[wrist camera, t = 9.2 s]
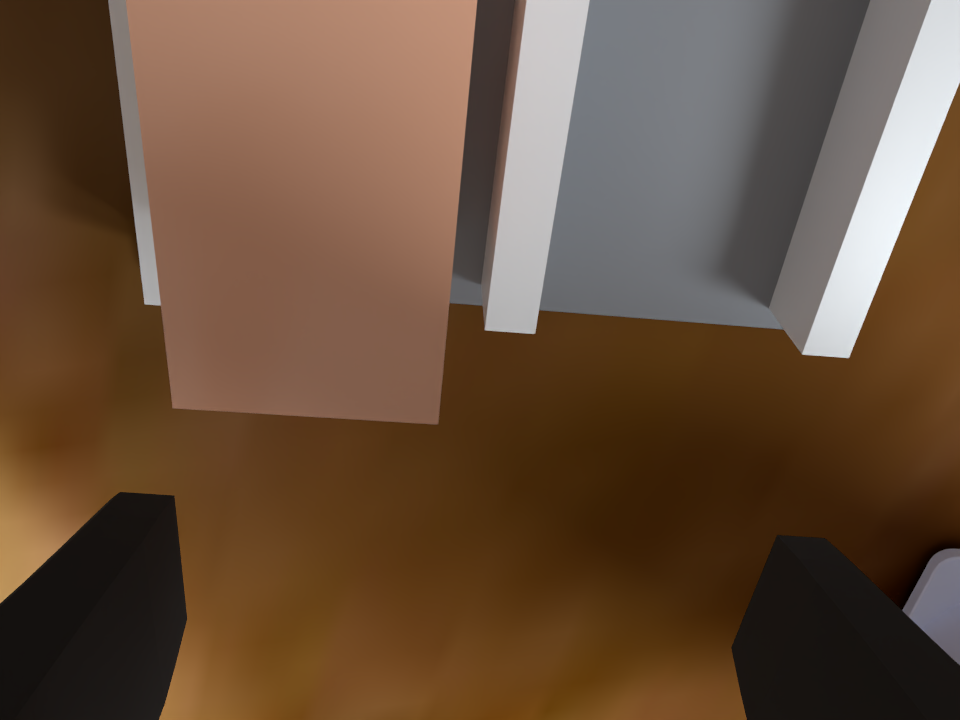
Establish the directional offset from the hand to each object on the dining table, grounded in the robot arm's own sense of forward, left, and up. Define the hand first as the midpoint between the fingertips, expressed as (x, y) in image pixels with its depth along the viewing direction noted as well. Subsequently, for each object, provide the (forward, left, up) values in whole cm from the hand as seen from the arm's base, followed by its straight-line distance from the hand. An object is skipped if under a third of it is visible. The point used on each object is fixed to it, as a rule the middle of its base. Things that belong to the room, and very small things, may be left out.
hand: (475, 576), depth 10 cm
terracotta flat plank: (+2, -4, -9) cm, 10 cm away
